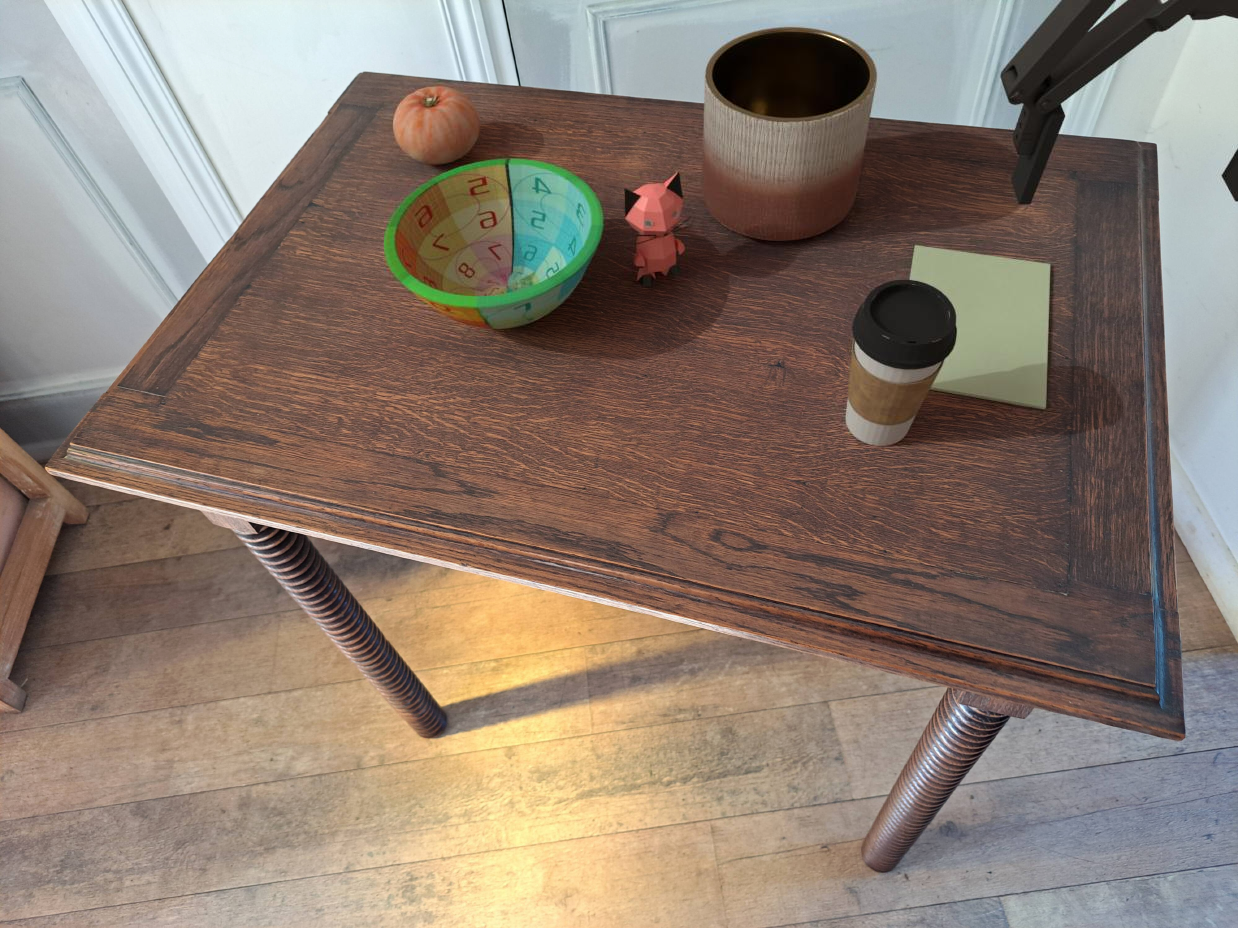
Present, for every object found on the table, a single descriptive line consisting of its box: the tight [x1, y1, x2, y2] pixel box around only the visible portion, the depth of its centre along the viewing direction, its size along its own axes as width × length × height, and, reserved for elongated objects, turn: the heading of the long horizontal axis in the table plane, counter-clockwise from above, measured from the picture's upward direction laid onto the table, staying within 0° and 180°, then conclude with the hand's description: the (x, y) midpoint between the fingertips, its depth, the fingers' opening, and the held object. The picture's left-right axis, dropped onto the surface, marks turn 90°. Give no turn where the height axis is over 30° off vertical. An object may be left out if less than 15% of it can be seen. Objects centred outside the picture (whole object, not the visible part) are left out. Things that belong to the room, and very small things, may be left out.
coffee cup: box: [845, 279, 957, 447], centre depth 75 cm, size 8×8×15 cm
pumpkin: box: [392, 85, 481, 165], centre depth 107 cm, size 11×11×8 cm
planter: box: [701, 26, 878, 242], centre depth 94 cm, size 18×18×16 cm
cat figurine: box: [624, 170, 692, 287], centre depth 90 cm, size 7×7×12 cm
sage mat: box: [908, 244, 1051, 411], centre depth 87 cm, size 20×14×1 cm
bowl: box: [383, 158, 605, 330], centre depth 90 cm, size 22×22×10 cm
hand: (1125, 190), depth 57 cm, fingers open, 13 cm apart
